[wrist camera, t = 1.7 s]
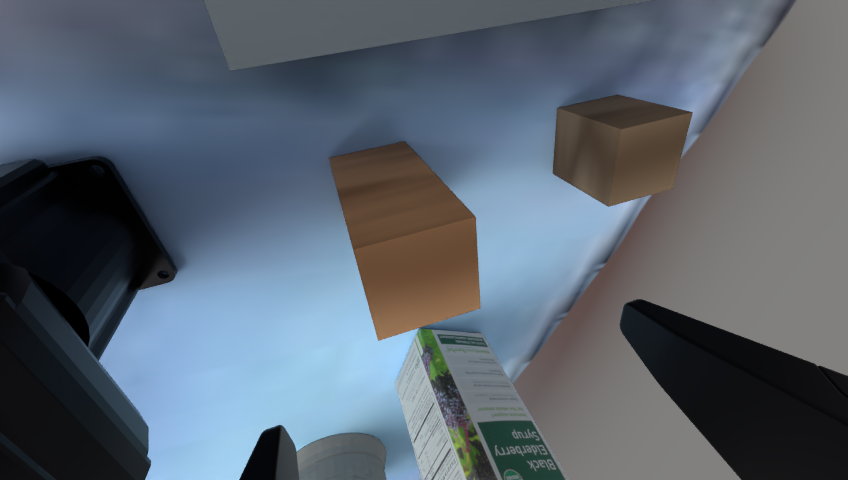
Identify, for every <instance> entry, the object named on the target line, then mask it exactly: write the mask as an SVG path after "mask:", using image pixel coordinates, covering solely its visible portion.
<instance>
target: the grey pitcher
mask: <svg viewBox="0 0 848 480" xmlns="http://www.w3.org/2000/svg"><path fill="white" fill-rule="evenodd" d="M296 453H297V462H298V471H299V480H386V476H385V471H384V469H385V466H384V465H385V461H386V449H385V446H384V445H383V443H382V442H381V441H380V440H379V439H377V438H375V437H373V436H370V435H367V434H361V433H344V434H337V435H332V436H329V437H325V438H322V439H319V440H317V441H315V442H312V443H310V444H309V445H307V446H305V447H303V448H302V449H300V450H299V451H297V452H296Z"/></svg>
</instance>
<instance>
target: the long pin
mask: <svg viewBox="0 0 848 480" xmlns="http://www.w3.org/2000/svg"><path fill="white" fill-rule="evenodd" d="M329 161H330V165H331V169H332V173H333V176H334V180H335V184H336V187H337V191H338V195H339V199H340V202H341V206H342V210H343V214H344V217H345V221H346V225H347V228H348V232H349V236H350V240H351V243H352V247H353V251H354V254H355V258H356V262H357V265H358V269H359V273H360V276H361V280H362V283H363V287H364V291H365V294H366V298H367V302H368V305H369V309H370V313H371V316H372V320H373V324H374V327H375V331H376V334H377V338H378V341H379V340H382V339H385V338H388V337H392V336H395V335H398V334H401V333H404V332H407V331H410V330H414V329H417V328H420V327H423V326H426V325H429V324H432V323H436V322H439V321H442V320H445V319H448V318H451V317H454V316H458V315H461V314H464V313H467V312H470V311H473V310H476V309H480V290H479V272H478V253H477V234H476V217H475V216H474V215H473V214H472V213H471V212H470V210H469V209H468V208H467V207H466V206H465V205H464V204H463V203H462V202H461V201H460V200H459V199H458V198H457V197H456V195H455V194H454V193H453V192H452V191H451V190H450V189H449V188H448V187H447V186H446V185H445V184H444V183H443V181H442V180H441V179H440V178H439V177H438V176H437V175H436V174H435V173H434V172H433V171H432V170H431V169H430V168H429V166H428V165H427V164H426V163H425V162H424V161H423V160H422V159H421V158H420V157H419V156H418V155H417V154H416V152H415V151H414V150H413V149H412V148H411V147H410V146H409V145H408V144H407V143H406V142H405V141H404V142H399V143H395V144H390V145H385V146H381V147H376V148H372V149H367V150H363V151H358V152H353V153H349V154H344V155H340V156H335V157H331V158H329Z"/></svg>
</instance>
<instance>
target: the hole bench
mask: <svg viewBox="0 0 848 480" xmlns="http://www.w3.org/2000/svg"><path fill="white" fill-rule="evenodd" d="M646 1H652V0H204V2H205V5H206V8H207V10H208V13H209V16H210V19H211V21H212V24H213V27H214V29H215V32H216V35H217V37H218V40H219V43H220V45H221V48H222V51H223V53H224V56H225V59H226V61H227V64H228V67H229V69H230V71H233V70H239V69H245V68H251V67H257V66H263V65H269V64H275V63H281V62H287V61H293V60H299V59H305V58H311V57H317V56H323V55H329V54H335V53H341V52H347V51H353V50H359V49H365V48H371V47H377V46H382V45H388V44H394V43H400V42H406V41H412V40H418V39H424V38H430V37H436V36H442V35H448V34H454V33H460V32H466V31H472V30H478V29H484V28H490V27H496V26H502V25H508V24H514V23H520V22H526V21H532V20H538V19H544V18H550V17H556V16H562V15H568V14H574V13H580V12H586V11H592V10H598V9H604V8H610V7H616V6H622V5H628V4H634V3H640V2H646Z"/></svg>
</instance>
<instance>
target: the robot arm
mask: <svg viewBox="0 0 848 480" xmlns="http://www.w3.org/2000/svg"><path fill="white" fill-rule="evenodd" d="M94 165H98V166H100V167H102V168H103V169H104V171H105V173H99V172H97V171H96V170H95V169H94V167H93V166H94ZM162 270H164V271H167V272H168V273H169V274H162V273H161V272H160V271H162ZM176 274H177V268H176V266H175V265H174V263H173V261H172V260H171V258H170V256H169V255H168V253H167V251H166V250H165V248H164V247H163V245H162V243H161V242H160V240H159V238H158V237H157V235H156V233H155V232H154V230H153V228H152V227H151V225H150V224H149V222H148V220H147V219H146V217H145V215H144V214H143V212H142V210H141V209H140V207H139V205H138V204H137V202H136V200H135V199H134V197H133V196H132V194H131V192H130V191H129V189H128V187H127V186H126V184H125V182H124V181H123V179H122V177H121V176H120V174H119V172H118V171H117V169H116V168H115V166H114V165H113V163H112V162H111V161H109V160H108V159H106V158H103V157H100V156H97V157H89V158H84V159H79V160H74V161H69V162H64V163H58V164H53V165H48V166H47V165H46V163H45V162H43V161H40V160H37V159H29V160H24V161H19V162H14V163H8V164H3V165H0V480H145V478H146V476H147V473H148V471H149V469H150V466H151V461H150V459H149V458H148V457H147V454H148V426H147V424H146V422H145V421H144V419H143V418H142V416H141V414H140V413H139V411H138V410H137V409H136V408H135V406H134V405H133V404H132V403H131V401H130V400H129V399H128V398H127V396H126V395H125V394H124V392H123V391H122V390H121V389H120V387H119V386H118V385H117V384H116V382H115V381H114V380H113V379H112V377H111V376H110V375H109V374H108V372H107V371H106V370H105V369H104V367H103V366H102V365H101V363H100V362H99V359H100V357H101V356H102V354H103V352H104V350H105V349H106V347H107V345H108V343H109V342H110V340H111V338H112V336H113V334H114V333H115V331H116V329H117V327H118V326H119V324H120V322H121V320H122V319H123V317H124V315H125V313H126V311H127V310H128V308H129V306H130V304H131V303H132V301H133V299H134V297H135V296H136V294H137V292H138V290H141V289H145V288H149V287H153V286H157V285H161V284H164V283H168V282H171V281H172V280H173V279H174V278H175V276H176ZM620 329H621V331H622V333H623V335H624V336H625V338H626V339H627V340H628V342H629V343H630V344H631V346H632V347H633V349H634V350H635V352H636V353H637V354H638V356H639V357H640V359H641V360H642V361H643V363H644V364H645V366H646V367H647V368H648V370H649V371H650V373H651V374H652V375H653V376H654V378H655V379H656V381H657V382H658V383H659V384H660V386H661V387H662V388H663V389H664V391H665V392H666V393H667V394H668V395H669V396H670V397H671V399H672V400H673V401H674V402H675V403H676V404H677V405H678V407H679V408H680V409H681V410H682V411H683V413H684V414H685V415H686V416H687V417H688V418H689V420H690V421H691V422H692V423H693V424H694V425H695V427H696V428H697V429H698V430H699V431H700V432H701V433H702V434H703V436H704V437H705V438H706V439H707V440H708V442H709V443H710V444H711V445H712V446H713V447H714V449H715V450H716V451H717V452H718V453H719V454H720V455H721V457H722V458H723V459H724V460H725V461H726V462H727V464H728V465H729V466H730V467H731V468H732V469H733V471H734V472H735V473H736V474H737V475H738V476H739V478H740V479H741V480H848V376H847V375H844V374H841V373H838V372H835V371H833V370H830V369H828V368H825V367H822V366H817V365H816V364H814V363H811V362H809V361H806V360H803V359H800V358H798V357H795V356H792V355H789V354H787V353H784V352H782V351H779V350H776V349H773V348H771V347H768V346H766V345H763V344H760V343H757V342H754V341H752V340H750V339H747V338H744V337H741V336H739V335H736V334H733V333H730V332H728V331H725V330H723V329H720V328H717V327H715V326H712V325H709V324H706V323H704V322H701V321H699V320H696V319H693V318H691V317H688V316H685V315H683V314H679V313H677V312H674V311H672V310H669V309H666V308H664V307H661V306H658V305H656V304H653V303H650V302H647V301H645V300H642V299H636V300H633V301H630V302H628V303H626V304H625V305H624V307H623V311H622V316H621V320H620ZM239 480H299V471H298V462H297V453H296V448H295V445H294V443H293V441H292V439H291V438H290V436H289V434H288V433H287V431H286V429H285V428H284V427H283V426H282V425H278V426H275V427H272V428H269V429H266V430H265V431H263V432H262V434H261V435H260V437H259V440H258V442H257V444H256V446H255V448H254V450H253V452H252V454H251V456H250V458H249V461H248V463H247V465H246V467H245V469H244V471H243V473H242V475H241V477H240V479H239Z"/></svg>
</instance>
